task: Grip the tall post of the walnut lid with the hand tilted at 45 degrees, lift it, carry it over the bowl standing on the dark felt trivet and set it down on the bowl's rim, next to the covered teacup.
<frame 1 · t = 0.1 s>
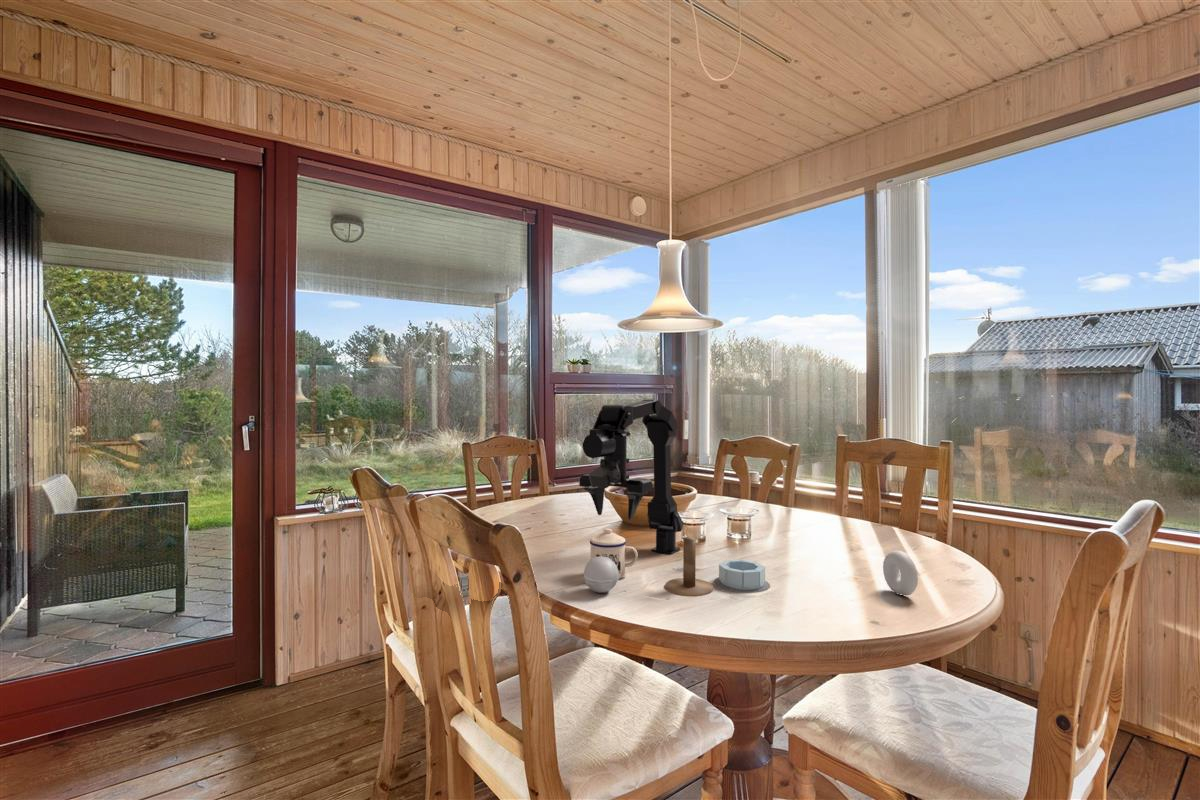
hand: (614, 517, 141), 15 cm above the table, tool pointing down, fingers open, 9 cm apart
lid: (689, 589, 131), on the table
bath bomb: (601, 592, 130), on the table
trivet: (741, 584, 135), on the table
teacup with lid: (613, 576, 141), on the table
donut: (899, 595, 128), on the table
bowl: (741, 583, 135), resting on trivet
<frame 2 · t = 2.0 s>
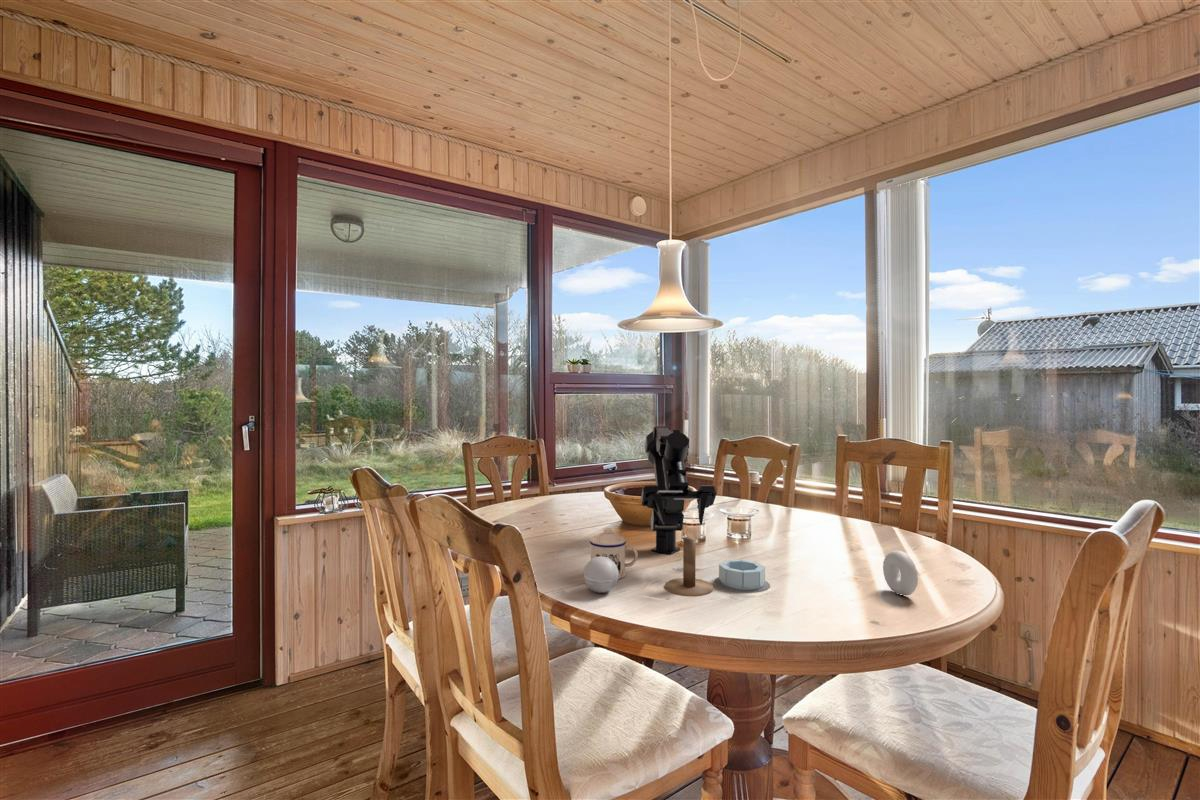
hand: (682, 523, 139), 13 cm above the table, tool tilted 45°, fingers open, 9 cm apart
nothing on the table moved.
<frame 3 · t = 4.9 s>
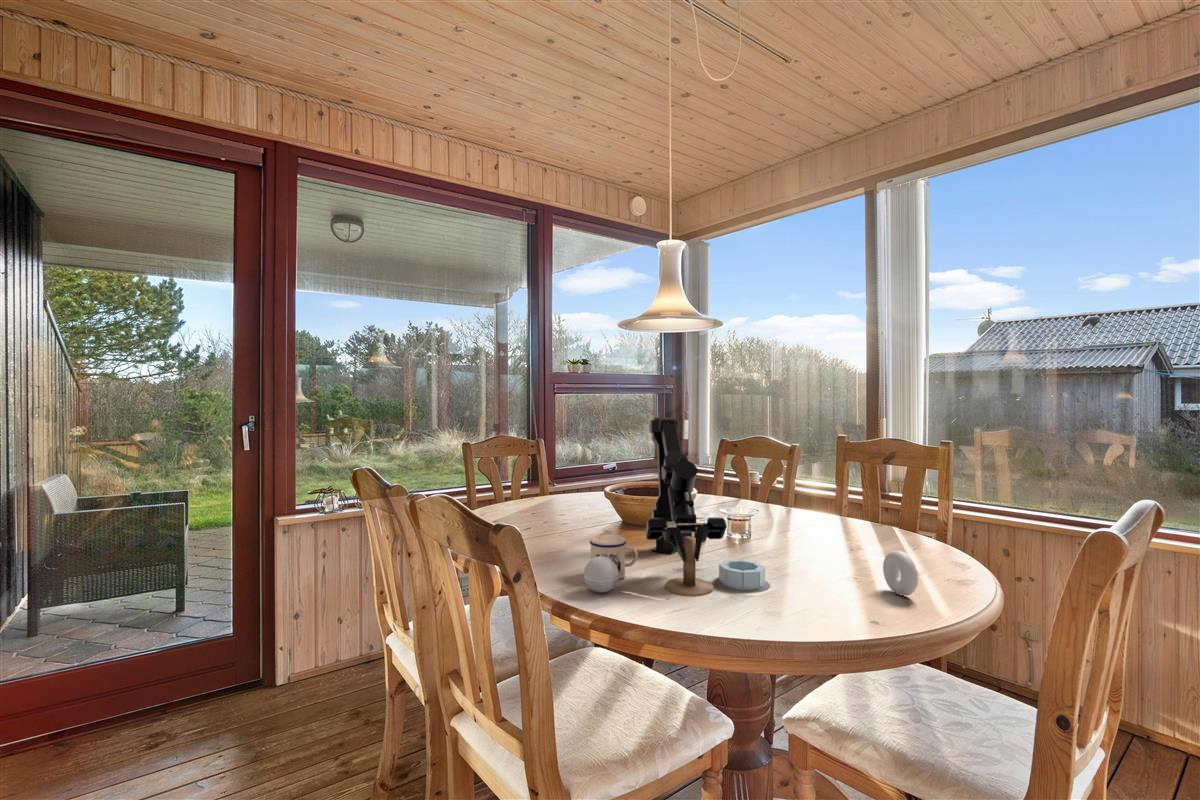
hand: (690, 560, 130), 7 cm above the table, tool tilted 45°, fingers closed on lid, 3 cm apart
lid: (689, 589, 131), on the table, touching gripper
everything else where it was.
when the fingers open (13 cm above the table, at t = 7.4 s): lid drops 1 cm, resting on bowl.
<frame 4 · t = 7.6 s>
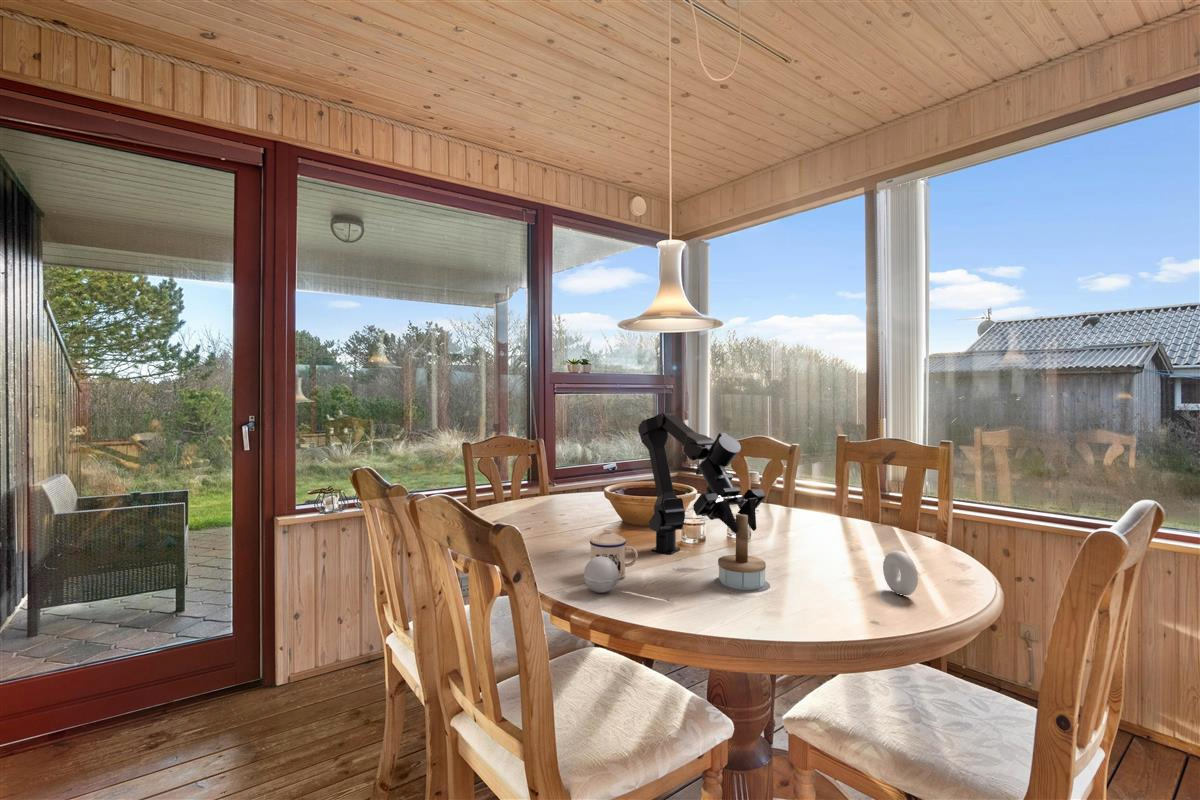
hand: (745, 531, 133), 13 cm above the table, tool tilted 45°, fingers open, 5 cm apart
lid: (741, 565, 135), point 5 cm above the table, touching bowl
everything else where it was.
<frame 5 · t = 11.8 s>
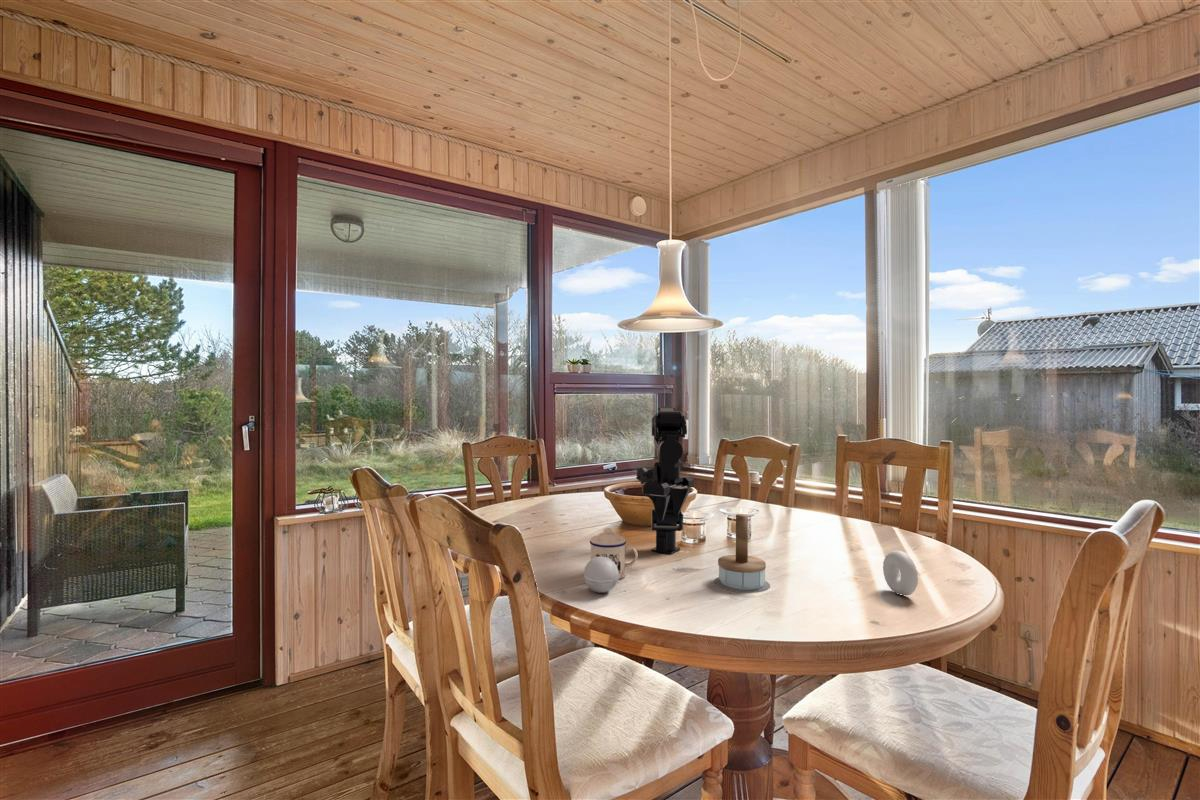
hand: (668, 517, 149), 13 cm above the table, tool pointing down, fingers open, 9 cm apart
nothing on the table moved.
at the end: lid 0.1 cm off-centre on the bowl, point 4.2 cm above the bowl's base; lid tilted 0°; the gripper is holding nothing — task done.
